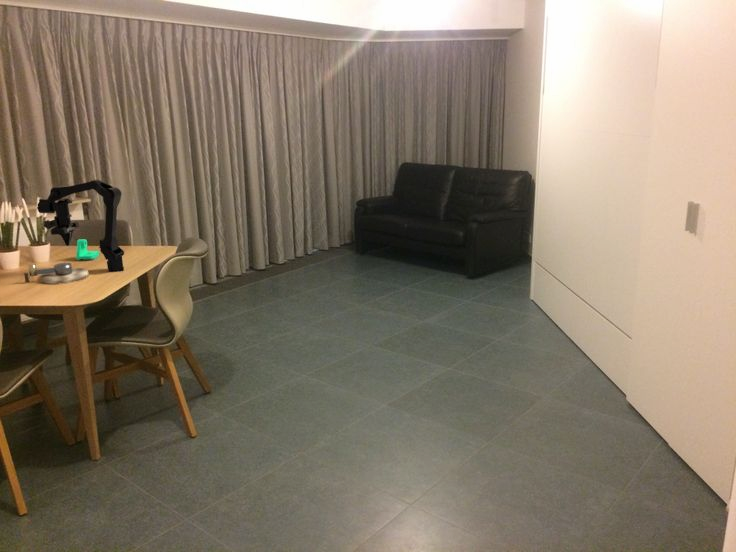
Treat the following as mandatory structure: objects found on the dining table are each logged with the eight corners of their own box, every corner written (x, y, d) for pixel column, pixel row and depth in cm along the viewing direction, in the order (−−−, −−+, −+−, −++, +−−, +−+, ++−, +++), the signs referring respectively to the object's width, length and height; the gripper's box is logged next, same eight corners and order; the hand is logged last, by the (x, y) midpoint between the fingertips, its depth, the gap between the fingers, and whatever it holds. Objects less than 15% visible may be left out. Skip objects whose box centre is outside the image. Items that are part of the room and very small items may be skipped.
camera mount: (92, 261, 293) (89, 241, 290) (76, 261, 292) (73, 242, 289) (100, 255, 304) (97, 236, 301) (85, 256, 303) (82, 237, 301)
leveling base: (89, 270, 274) (88, 262, 273) (87, 280, 256) (86, 272, 255) (28, 276, 265) (27, 268, 263) (22, 288, 247) (21, 279, 246)
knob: (72, 270, 265) (70, 258, 264) (72, 273, 260) (70, 261, 258) (30, 275, 258) (28, 263, 256) (29, 279, 252) (27, 266, 250)
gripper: (52, 210, 276) (58, 242, 280) (35, 217, 258) (41, 250, 262) (77, 209, 277) (81, 241, 282) (61, 216, 259) (67, 249, 264)
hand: (67, 245), depth 272 cm, fingers closed
